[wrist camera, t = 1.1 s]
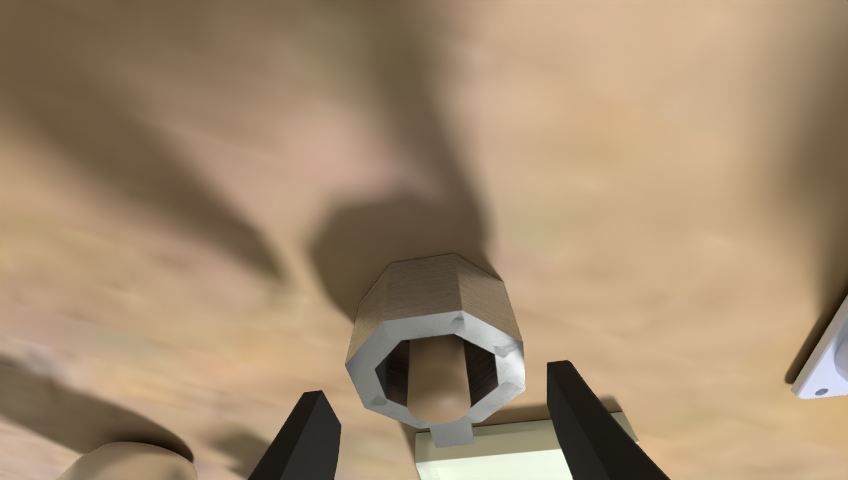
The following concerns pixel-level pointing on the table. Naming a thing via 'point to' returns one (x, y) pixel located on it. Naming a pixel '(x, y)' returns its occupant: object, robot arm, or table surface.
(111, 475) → the plastic bottle
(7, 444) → the table surface
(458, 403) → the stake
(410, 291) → the grey octagonal ring
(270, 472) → the robot arm
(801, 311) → the table surface
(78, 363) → the table surface
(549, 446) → the tray
